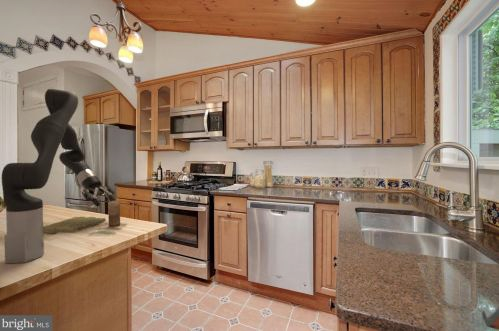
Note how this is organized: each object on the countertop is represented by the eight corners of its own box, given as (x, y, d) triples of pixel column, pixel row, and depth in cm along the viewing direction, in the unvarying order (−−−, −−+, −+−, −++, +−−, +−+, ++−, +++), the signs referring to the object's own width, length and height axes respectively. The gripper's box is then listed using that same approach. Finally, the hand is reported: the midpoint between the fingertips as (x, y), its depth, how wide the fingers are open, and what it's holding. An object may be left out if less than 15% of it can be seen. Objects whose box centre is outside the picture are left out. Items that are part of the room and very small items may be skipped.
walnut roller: (117, 226, 114) (117, 202, 113) (106, 227, 113) (106, 202, 112) (121, 223, 118) (121, 200, 118) (111, 224, 118) (111, 200, 117)
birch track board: (112, 237, 102) (112, 235, 102) (85, 238, 100) (85, 236, 100) (129, 224, 120) (129, 222, 120) (106, 225, 119) (106, 223, 119)
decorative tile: (38, 234, 106) (38, 226, 105) (75, 221, 126) (75, 215, 125) (75, 236, 104) (75, 228, 104) (107, 223, 124) (107, 216, 123)
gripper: (79, 176, 112) (97, 201, 109) (105, 174, 125) (122, 196, 122) (71, 186, 113) (89, 211, 111) (98, 183, 127) (114, 205, 124)
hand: (106, 203), depth 117 cm, fingers open, 8 cm apart
